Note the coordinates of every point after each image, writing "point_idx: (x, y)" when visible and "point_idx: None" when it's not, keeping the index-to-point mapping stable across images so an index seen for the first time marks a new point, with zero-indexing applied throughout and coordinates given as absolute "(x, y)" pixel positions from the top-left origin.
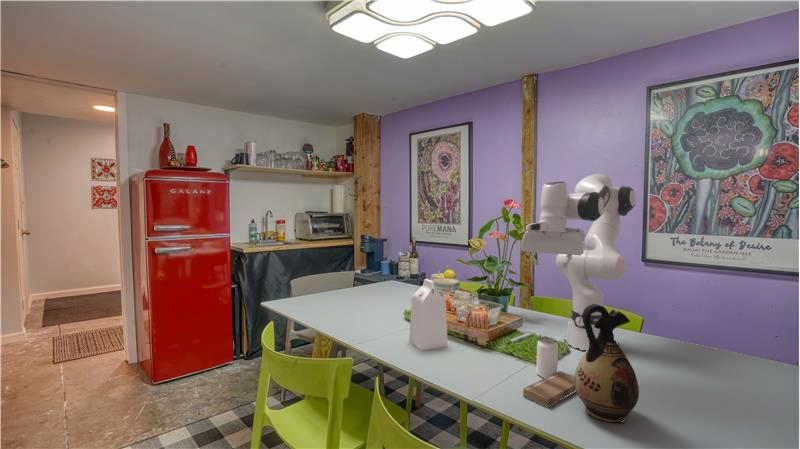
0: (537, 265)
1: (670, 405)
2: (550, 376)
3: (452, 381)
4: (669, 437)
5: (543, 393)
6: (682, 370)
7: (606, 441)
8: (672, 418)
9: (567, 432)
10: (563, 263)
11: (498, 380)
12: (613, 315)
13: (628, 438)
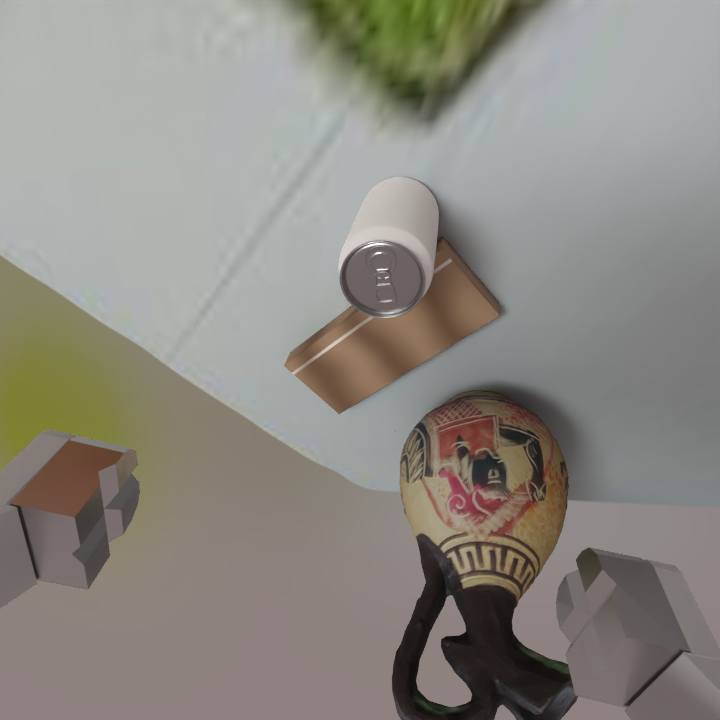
0: (122, 493)
1: (711, 391)
2: None
3: (88, 277)
4: None
5: (334, 389)
6: None
7: None
8: (647, 440)
9: (359, 468)
10: (574, 675)
11: (223, 264)
12: (512, 710)
13: None
